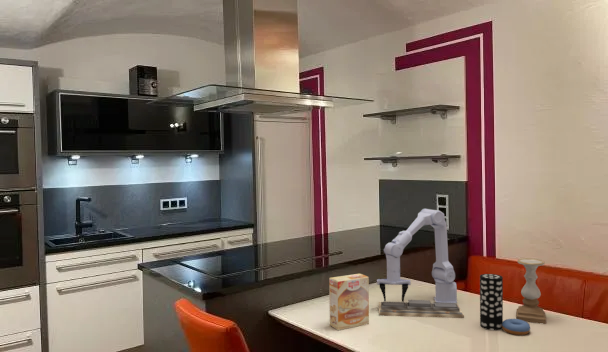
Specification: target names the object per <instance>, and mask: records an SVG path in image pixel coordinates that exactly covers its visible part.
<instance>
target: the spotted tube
mask: <svg viewBox="0 0 608 352" xmlns="http://www.w3.org/2000/svg"><path fill="white" fill-rule="evenodd" d="M503 278H504V277H503V276H502V275H500V274H495V273H483V274H479V327H480V328H482V329H484V330H488V331H501V330H503V328H502V322H503V321H504V309H503V306H504V304H503V303H504V302H503V301H504V298H503V292H504V287H503V286H504V285H503V282H504V280H503Z"/></svg>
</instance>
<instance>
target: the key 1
mask: <svg viewBox="0 0 608 352" xmlns="http://www.w3.org/2000/svg"><path fill="white" fill-rule="evenodd" d="M382 302H383V306H398V307H405V305H404V302H405V301H404V302H402V301H382Z"/></svg>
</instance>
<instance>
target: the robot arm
mask: <svg viewBox="0 0 608 352" xmlns="http://www.w3.org/2000/svg"><path fill="white" fill-rule="evenodd" d="M428 225H430V226H431V227H432V228H433V229H434V244H435V245H434V246H435V262H433V264H432V271H431V276H432V278H433V279H434V283H435V291H434V292H435V294H434V295H435V296H434V297H433V300H434V301H435V302H434V303H455V304H458V300H457V299H458V298H457V297H458V296H457V295H458V290H457V289H458V288H457V282H455V281H454V280H455V279H456V272H455V270H454V266H453V265H452V263H451V262H450V261H449V246H448V229H447V222H446V219H445V213H444V212H442V211H441V210H438V209H431V208H422V209H421V210H420V211H419V212H418V213H417V217H416V218H415V219H414V221H413V222H411V224H410V225H409V227H408V228H407V229H406V230H402V231H399V232H398V234H397V236H395V237H394V238H393V239H392V240H391V242H390V241H389V242H388V243H386V244H385V246H384V248H383V254H385V258H386V278H381V279H380V278H378V279H376V286H377V285H378V286H379V289H380V290H381V294H382V296H383V302H387V298H386V297H387V296H386V285H388V286H389V285H391V286H392V285H396V286H397V285H398V286H399V285H401V302H405V296H406V293H407V291H408V290H409V286H411V284H412V283H411V282H412V281H411V279H405V278H404V279H403V278H401V256H402V255H403V252H404V250H405V248H406V247H407V246H408V244H409V243H410V242H411V241H412V239H413V236H414V235H415V234H416V233H417V232H418V231H419V230H420V229H421V228H422V227H424V226H428Z"/></svg>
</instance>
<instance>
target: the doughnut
mask: <svg viewBox="0 0 608 352" xmlns="http://www.w3.org/2000/svg"><path fill="white" fill-rule="evenodd" d="M502 330H503V331H504V332H505V333H506V334H511V335H514V336H525V335H527V334H529V333H530V331H531V326H530V323H529V322H525V321H523V320H519V319H516V318H506V319H503V322H502Z"/></svg>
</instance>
